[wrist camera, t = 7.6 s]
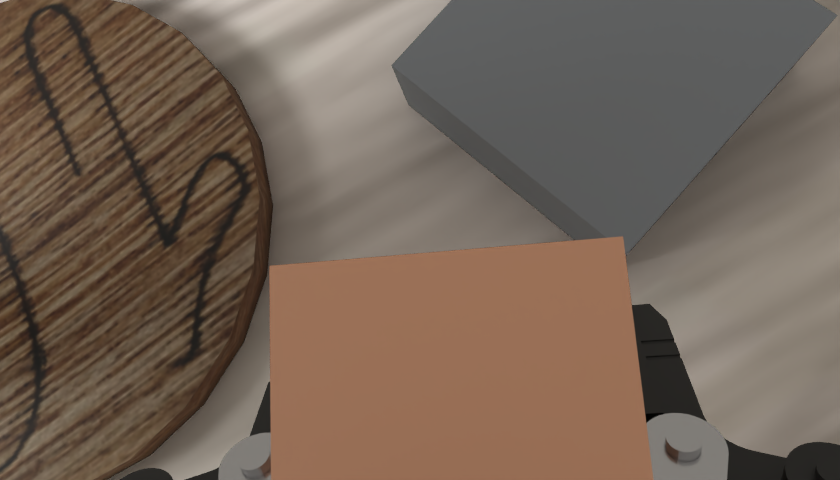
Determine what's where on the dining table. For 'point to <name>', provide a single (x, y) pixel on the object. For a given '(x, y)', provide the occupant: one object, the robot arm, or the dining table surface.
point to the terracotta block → (458, 366)
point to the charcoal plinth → (602, 94)
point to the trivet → (117, 235)
